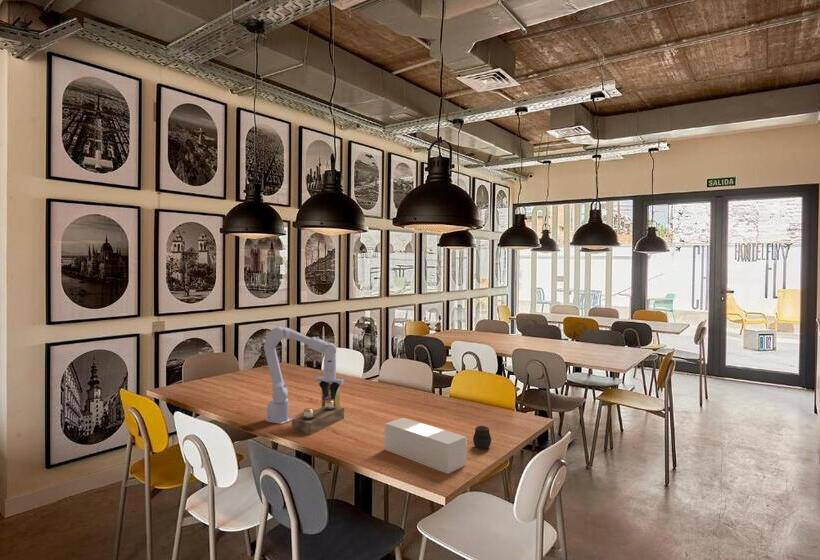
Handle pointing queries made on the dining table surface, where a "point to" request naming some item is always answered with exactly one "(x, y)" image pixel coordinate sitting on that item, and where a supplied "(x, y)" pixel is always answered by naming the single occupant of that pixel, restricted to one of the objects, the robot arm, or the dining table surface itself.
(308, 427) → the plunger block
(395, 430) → the white box
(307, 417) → the peg
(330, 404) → the peg
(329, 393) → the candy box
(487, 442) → the mate gourd
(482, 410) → the dining table surface
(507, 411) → the dining table surface
